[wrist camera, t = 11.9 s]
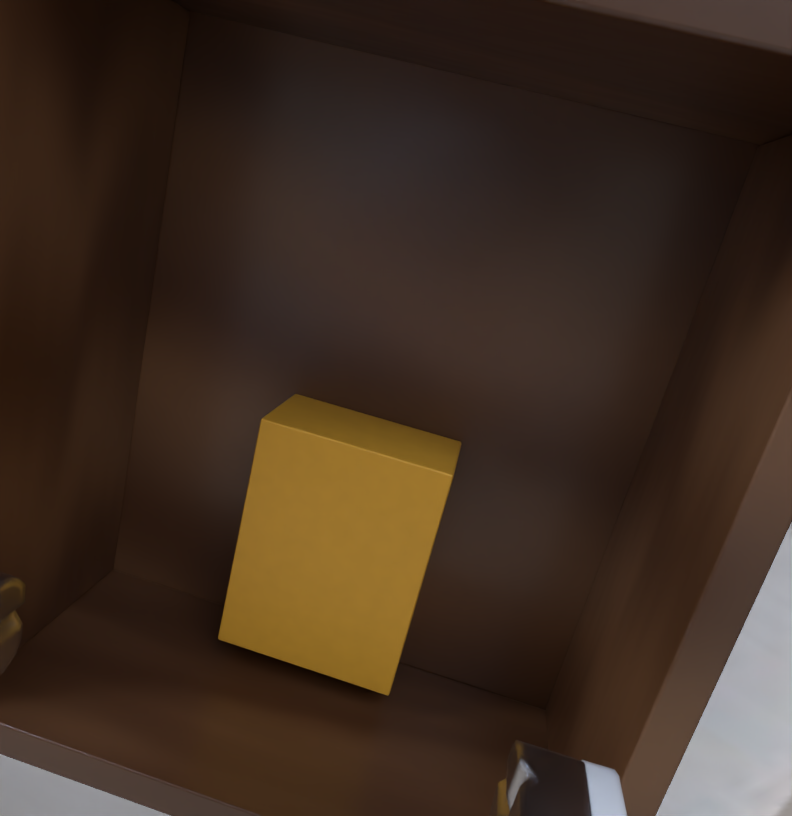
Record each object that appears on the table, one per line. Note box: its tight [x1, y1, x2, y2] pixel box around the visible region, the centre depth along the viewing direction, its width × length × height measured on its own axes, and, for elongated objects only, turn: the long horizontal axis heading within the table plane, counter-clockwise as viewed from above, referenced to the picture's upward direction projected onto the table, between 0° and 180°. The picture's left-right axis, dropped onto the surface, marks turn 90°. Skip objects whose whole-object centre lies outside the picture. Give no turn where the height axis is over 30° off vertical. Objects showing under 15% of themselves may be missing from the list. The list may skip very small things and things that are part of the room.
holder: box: [0, 0, 792, 816], centre depth 14 cm, size 17×15×7 cm
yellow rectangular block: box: [218, 394, 461, 695], centre depth 17 cm, size 6×4×2 cm
